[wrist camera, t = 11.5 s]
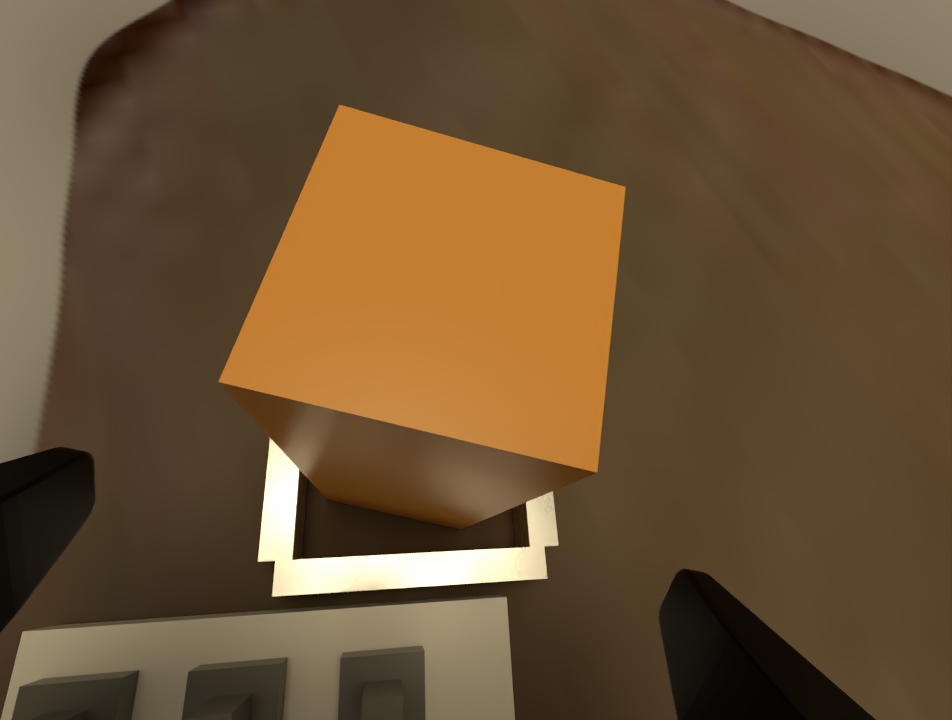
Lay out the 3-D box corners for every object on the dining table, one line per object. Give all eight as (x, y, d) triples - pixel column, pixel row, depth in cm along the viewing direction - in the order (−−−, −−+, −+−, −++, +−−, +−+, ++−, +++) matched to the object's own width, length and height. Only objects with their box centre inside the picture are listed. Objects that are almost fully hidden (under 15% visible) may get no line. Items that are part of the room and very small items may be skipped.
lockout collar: (544, 575, 18) (561, 577, 17) (268, 593, 17) (254, 597, 15) (521, 337, 22) (534, 317, 20) (292, 332, 20) (283, 309, 18)
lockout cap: (460, 529, 19) (597, 472, 7) (327, 499, 18) (218, 381, 6) (485, 404, 21) (625, 186, 9) (366, 374, 20) (339, 104, 8)
